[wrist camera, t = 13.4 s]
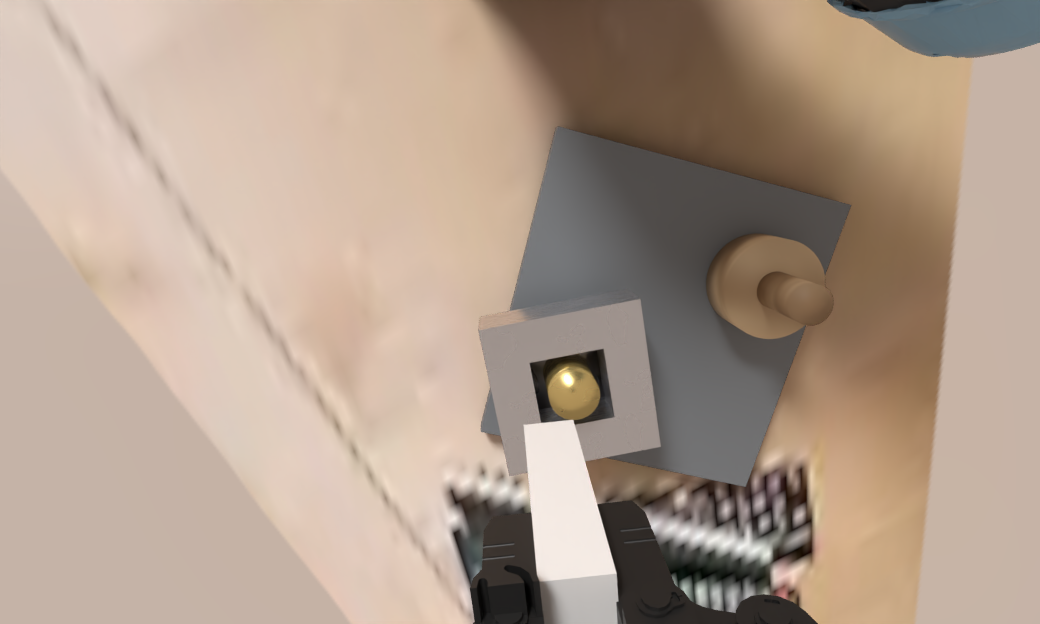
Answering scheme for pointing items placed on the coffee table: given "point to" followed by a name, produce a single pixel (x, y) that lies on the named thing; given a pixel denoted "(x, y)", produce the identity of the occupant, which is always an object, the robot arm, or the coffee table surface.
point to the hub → (568, 384)
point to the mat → (671, 286)
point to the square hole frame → (567, 331)
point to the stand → (768, 286)
